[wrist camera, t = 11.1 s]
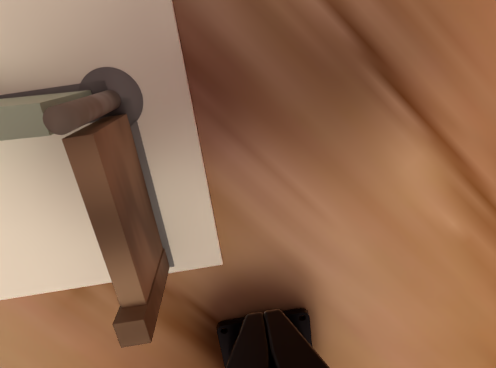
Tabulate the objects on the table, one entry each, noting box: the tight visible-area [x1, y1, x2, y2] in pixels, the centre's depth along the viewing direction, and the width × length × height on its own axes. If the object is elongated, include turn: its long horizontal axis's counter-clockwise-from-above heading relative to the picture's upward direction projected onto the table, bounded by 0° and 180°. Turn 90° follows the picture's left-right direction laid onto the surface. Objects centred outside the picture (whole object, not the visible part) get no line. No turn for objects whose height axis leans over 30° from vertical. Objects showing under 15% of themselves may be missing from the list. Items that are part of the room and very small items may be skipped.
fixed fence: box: [43, 90, 170, 348], centre depth 16 cm, size 11×1×6 cm, turn 8°
